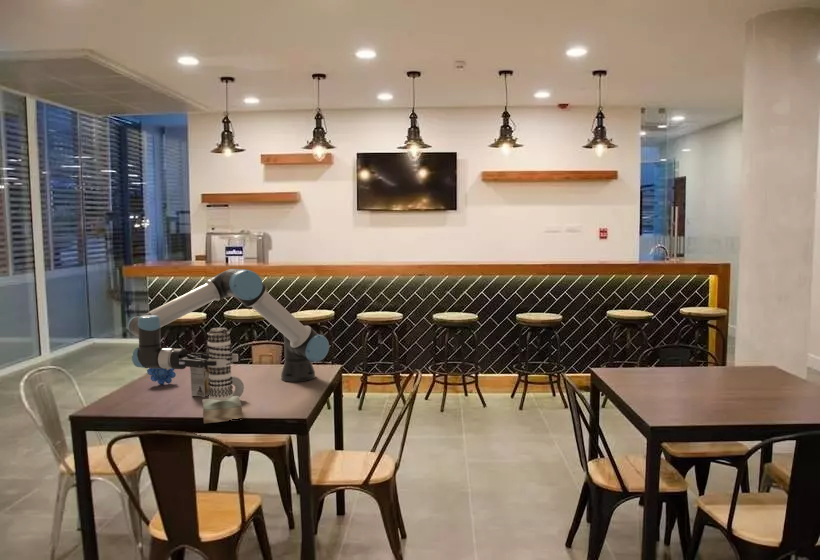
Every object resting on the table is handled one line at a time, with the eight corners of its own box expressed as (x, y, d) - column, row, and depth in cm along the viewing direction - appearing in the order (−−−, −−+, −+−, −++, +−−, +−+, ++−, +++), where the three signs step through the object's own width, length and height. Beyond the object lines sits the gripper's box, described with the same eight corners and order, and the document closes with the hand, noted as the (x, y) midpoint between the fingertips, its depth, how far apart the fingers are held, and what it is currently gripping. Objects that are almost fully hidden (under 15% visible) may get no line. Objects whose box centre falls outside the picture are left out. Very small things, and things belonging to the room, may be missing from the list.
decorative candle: (230, 399, 223) (228, 330, 221) (204, 400, 222) (202, 330, 220) (236, 393, 232) (234, 326, 230) (211, 393, 231) (209, 326, 229)
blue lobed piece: (148, 388, 269) (146, 361, 267) (147, 385, 275) (146, 358, 274) (176, 385, 273) (175, 358, 272) (175, 381, 279) (174, 355, 278)
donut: (217, 402, 246) (216, 377, 245) (218, 400, 249) (217, 375, 248) (244, 400, 247) (243, 376, 247) (244, 398, 251) (243, 374, 250)
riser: (239, 408, 237) (238, 395, 236) (242, 419, 223) (241, 405, 223) (203, 412, 232) (202, 399, 232) (203, 423, 219) (203, 409, 219)
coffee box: (202, 391, 263) (201, 353, 262) (216, 391, 262) (215, 354, 260) (191, 397, 254) (189, 358, 253) (205, 397, 253) (203, 358, 252)
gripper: (190, 362, 240) (245, 364, 236) (158, 375, 219) (217, 377, 215) (189, 343, 240) (244, 344, 235) (157, 354, 219) (217, 356, 214)
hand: (231, 360), depth 225 cm, fingers closed on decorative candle, 8 cm apart
